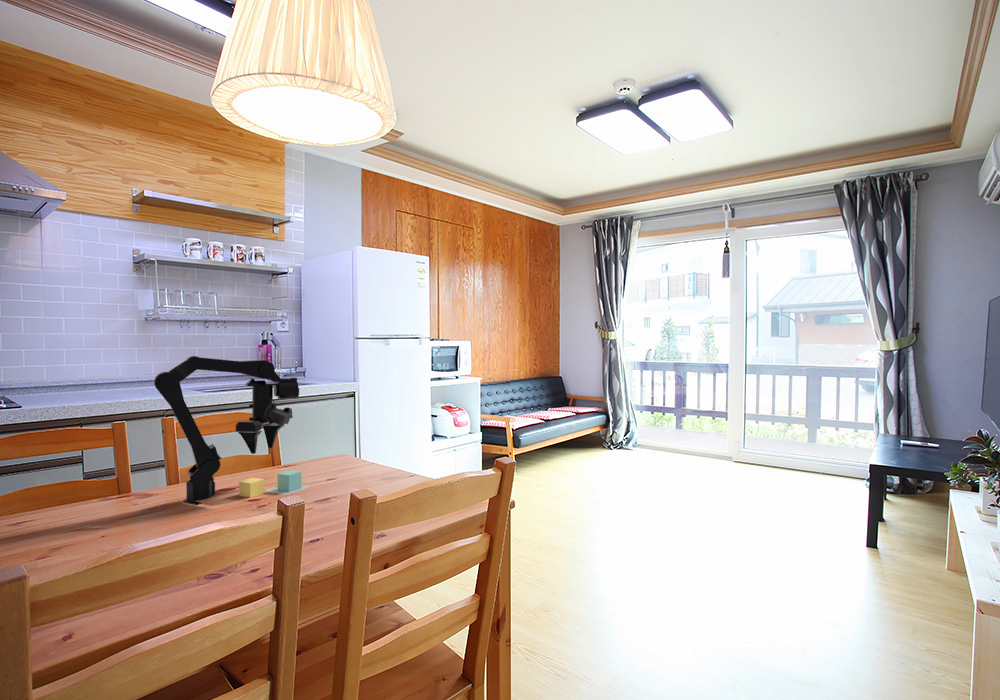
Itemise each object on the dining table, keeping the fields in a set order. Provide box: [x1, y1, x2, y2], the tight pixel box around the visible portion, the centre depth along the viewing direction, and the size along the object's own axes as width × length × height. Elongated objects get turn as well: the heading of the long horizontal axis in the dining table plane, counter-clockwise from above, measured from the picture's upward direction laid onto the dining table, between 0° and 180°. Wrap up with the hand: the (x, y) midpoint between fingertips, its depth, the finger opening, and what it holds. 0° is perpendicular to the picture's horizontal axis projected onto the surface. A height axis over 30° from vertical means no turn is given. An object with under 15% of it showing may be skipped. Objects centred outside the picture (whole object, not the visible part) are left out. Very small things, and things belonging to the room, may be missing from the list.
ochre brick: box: [238, 477, 266, 498], centre depth 150 cm, size 5×5×5 cm
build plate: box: [265, 484, 312, 496], centre depth 156 cm, size 10×10×1 cm
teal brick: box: [277, 469, 303, 492], centre depth 155 cm, size 5×5×5 cm
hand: (262, 450), depth 157 cm, fingers open, 9 cm apart
